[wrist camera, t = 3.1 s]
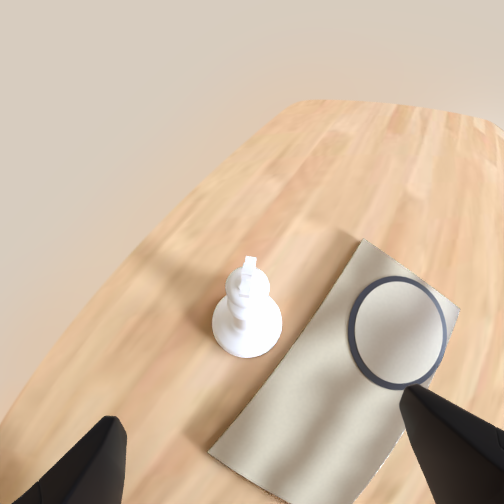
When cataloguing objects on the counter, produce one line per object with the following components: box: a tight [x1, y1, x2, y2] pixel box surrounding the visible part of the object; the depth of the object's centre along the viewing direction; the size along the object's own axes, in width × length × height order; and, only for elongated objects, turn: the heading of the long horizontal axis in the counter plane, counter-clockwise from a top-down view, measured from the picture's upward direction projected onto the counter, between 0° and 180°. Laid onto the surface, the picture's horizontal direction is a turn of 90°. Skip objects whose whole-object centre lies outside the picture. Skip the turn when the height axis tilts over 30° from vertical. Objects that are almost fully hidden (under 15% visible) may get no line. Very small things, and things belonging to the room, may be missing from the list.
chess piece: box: [212, 256, 282, 358], centre depth 16 cm, size 5×5×10 cm
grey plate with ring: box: [207, 238, 460, 504], centre depth 19 cm, size 11×20×1 cm, turn 143°
